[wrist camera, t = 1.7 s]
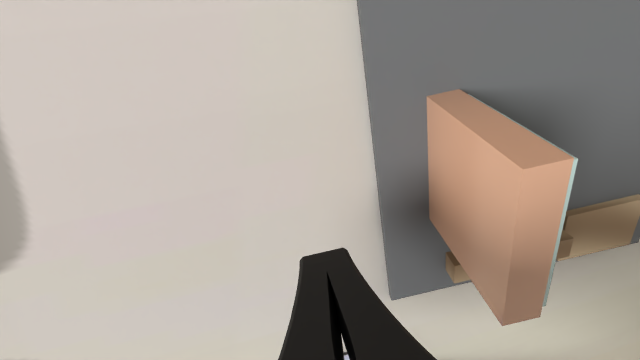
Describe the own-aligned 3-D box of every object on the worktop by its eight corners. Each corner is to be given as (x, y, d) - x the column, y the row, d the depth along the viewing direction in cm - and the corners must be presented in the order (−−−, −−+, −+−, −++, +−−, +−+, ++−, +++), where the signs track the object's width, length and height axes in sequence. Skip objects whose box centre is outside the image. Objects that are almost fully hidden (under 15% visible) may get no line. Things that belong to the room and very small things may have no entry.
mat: (632, 237, 20) (638, 242, 20) (389, 294, 20) (391, 300, 20) (761, -127, 12) (775, -130, 12) (352, -42, 12) (355, -43, 11)
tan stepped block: (623, 239, 20) (639, 251, 19) (445, 281, 19) (453, 295, 18) (638, 194, 18) (657, 205, 17) (445, 238, 18) (454, 252, 17)
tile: (462, 210, 17) (548, 314, 12) (429, 218, 17) (502, 326, 12) (466, 87, 14) (585, 155, 9) (426, 96, 14) (523, 169, 9)
